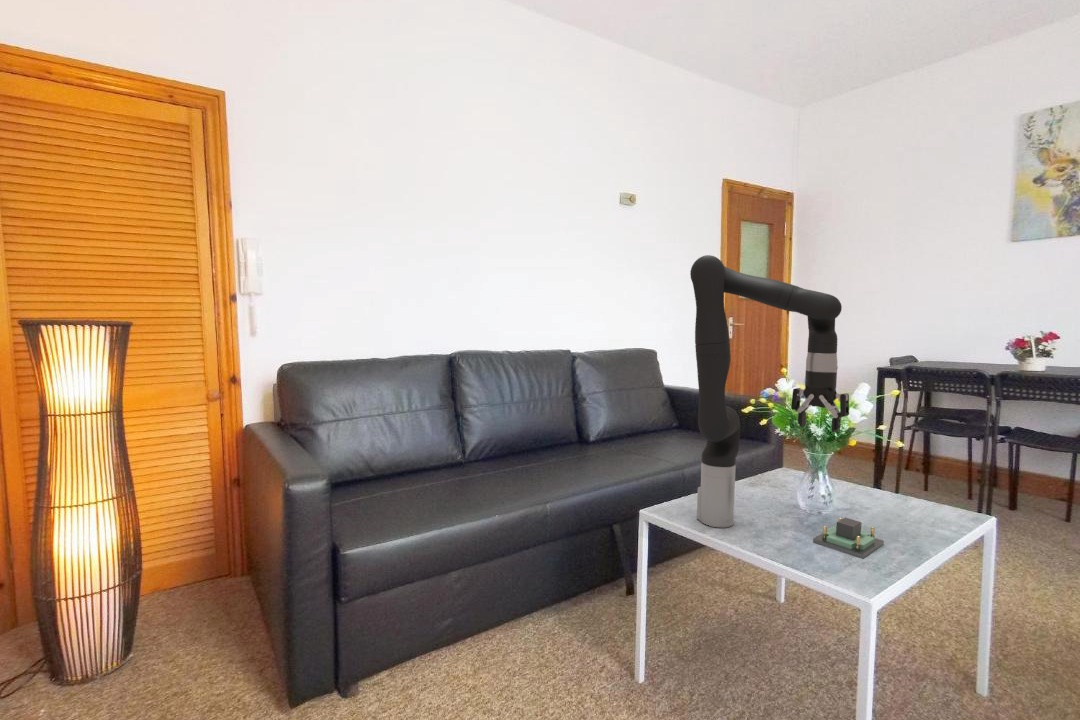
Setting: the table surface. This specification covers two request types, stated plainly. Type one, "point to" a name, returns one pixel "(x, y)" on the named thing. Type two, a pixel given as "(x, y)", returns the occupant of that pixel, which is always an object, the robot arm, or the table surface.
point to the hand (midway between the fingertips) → (818, 428)
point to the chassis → (855, 551)
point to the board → (848, 542)
